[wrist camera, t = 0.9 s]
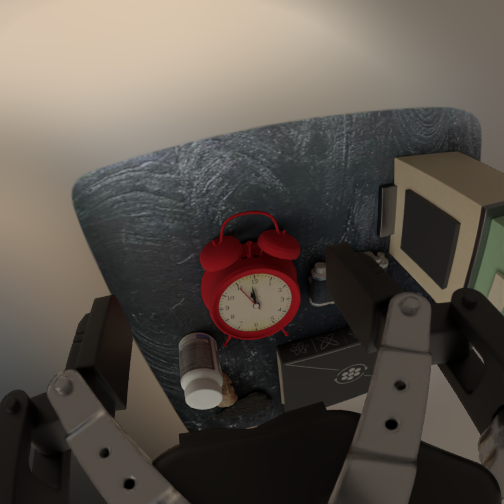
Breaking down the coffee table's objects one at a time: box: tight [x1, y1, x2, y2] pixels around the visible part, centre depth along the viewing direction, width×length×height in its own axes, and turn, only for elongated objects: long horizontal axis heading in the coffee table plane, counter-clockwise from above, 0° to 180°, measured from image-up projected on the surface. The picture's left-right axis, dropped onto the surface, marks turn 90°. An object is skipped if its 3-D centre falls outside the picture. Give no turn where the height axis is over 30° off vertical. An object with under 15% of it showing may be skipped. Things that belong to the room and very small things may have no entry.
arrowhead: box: [212, 392, 271, 420], centre depth 47 cm, size 6×1×10 cm
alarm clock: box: [200, 211, 301, 347], centre depth 33 cm, size 10×6×15 cm
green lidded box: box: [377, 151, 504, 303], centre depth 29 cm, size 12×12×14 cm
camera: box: [308, 251, 389, 307], centre depth 36 cm, size 5×10×4 cm, turn 94°
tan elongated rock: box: [217, 371, 238, 407], centre depth 43 cm, size 10×4×5 cm
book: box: [276, 327, 378, 412], centre depth 45 cm, size 22×15×3 cm
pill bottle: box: [179, 332, 223, 409], centre depth 35 cm, size 5×5×8 cm
